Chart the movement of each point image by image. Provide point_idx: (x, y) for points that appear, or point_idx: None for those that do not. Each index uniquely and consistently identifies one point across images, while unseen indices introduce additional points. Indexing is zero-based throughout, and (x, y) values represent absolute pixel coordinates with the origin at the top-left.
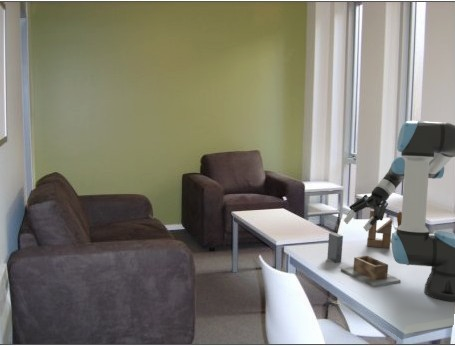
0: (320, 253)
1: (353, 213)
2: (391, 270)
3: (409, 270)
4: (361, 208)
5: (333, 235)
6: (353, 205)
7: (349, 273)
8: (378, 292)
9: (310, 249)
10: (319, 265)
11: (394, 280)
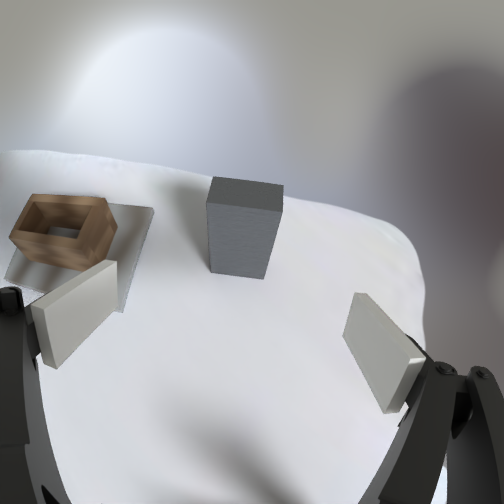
0: (328, 279)
1: (387, 380)
2: None
3: None
4: (380, 471)
5: (245, 182)
6: (481, 396)
7: (116, 205)
8: (31, 192)
9: (378, 279)
10: None
11: (12, 260)
